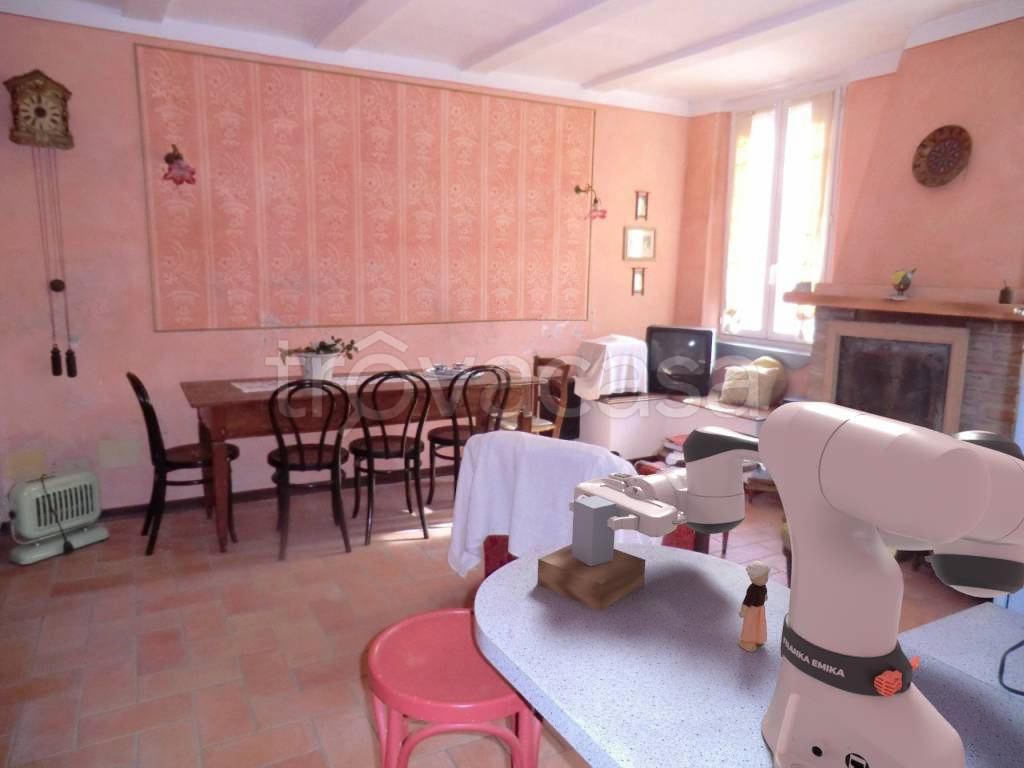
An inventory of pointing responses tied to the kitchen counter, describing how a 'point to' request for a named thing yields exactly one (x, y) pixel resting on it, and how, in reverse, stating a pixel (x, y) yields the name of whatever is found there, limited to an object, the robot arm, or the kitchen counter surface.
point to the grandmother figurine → (755, 607)
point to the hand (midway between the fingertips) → (590, 515)
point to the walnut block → (591, 577)
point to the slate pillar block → (593, 530)
